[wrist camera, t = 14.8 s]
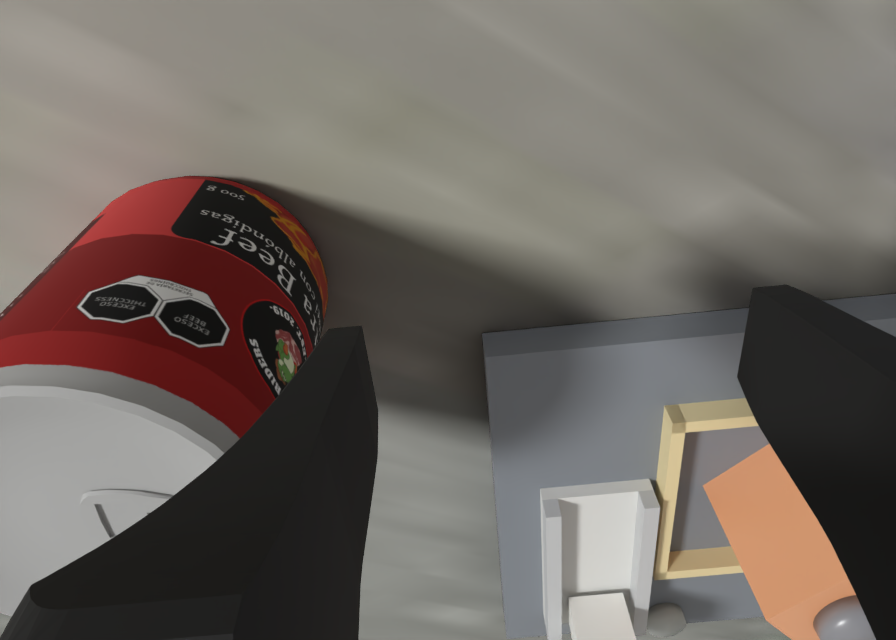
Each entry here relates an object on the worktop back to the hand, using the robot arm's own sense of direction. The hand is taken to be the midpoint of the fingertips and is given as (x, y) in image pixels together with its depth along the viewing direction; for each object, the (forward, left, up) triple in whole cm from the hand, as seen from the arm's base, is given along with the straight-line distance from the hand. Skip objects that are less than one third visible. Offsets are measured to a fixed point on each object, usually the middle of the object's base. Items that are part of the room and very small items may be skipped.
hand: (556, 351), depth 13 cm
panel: (-7, +15, -10) cm, 20 cm away
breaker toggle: (-3, +20, -8) cm, 22 cm away
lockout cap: (-10, +14, -9) cm, 20 cm away
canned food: (+10, +3, -11) cm, 15 cm away
